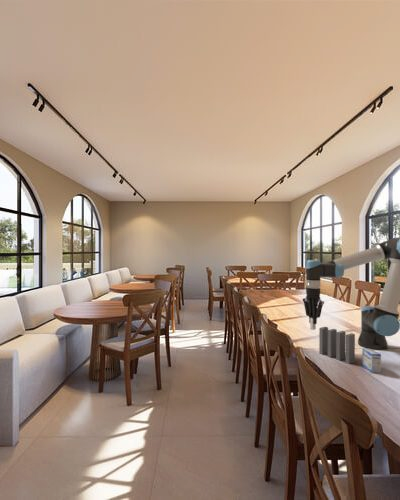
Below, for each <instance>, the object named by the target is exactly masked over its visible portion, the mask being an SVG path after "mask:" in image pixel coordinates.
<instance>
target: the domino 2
mask: <svg viewBox="0 0 400 500" xmlns="http://www.w3.org/2000/svg"><path fill="white" fill-rule="evenodd" d="M336 332H338V331H337V329H336V328H331V329H328V353H327V357H328V358H334V357H336Z"/></svg>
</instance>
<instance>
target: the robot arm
mask: <svg viewBox="0 0 400 500" xmlns="http://www.w3.org/2000/svg"><path fill="white" fill-rule="evenodd" d="M387 259H389V261H390V265H389V268H388V273H387V276H386V280H385V284H384V286H383V289H382V293H381V296H380V301H379V302H378V304H377V305H375V306H373V305H366V306H362V307H361V312H360V314H361V316H360V317H361V321H360V322H361V325H360V327H361V328H360V329H361V331H360V335H359V336H358V340H357V344H358V345H359V346H361V347H363V348H365V349H372V350H381V351H382V350H386V349H388V347H389V346H388V341H387V338H386V337H392V336H394V335H396V334H397V333H398V332H399V331H400V321H399V318H400V312H399V311H398V308H399V304H400V237H393V238H390V239H388V240H386V241H383V242H380V243H377V244H376V245H375V246H374V247H371V248H367V249H363V250H361V251H358V252H355V253H352V254H349V255H344V256H342V257H338V258H335V259H333V260H330V261H327V262H326V261H324V262H321V260H320V259H318V260H317V259H308V260H306V263H305V264H306V267H305V269H306V271H305V274H306V275H305V277H306V280H305V281H306V282H305V283H306V284H305V286H306V288H305V294H306V296H305V297H304V298H302V301H303V302H302V303H303V305H304V311H305V315H306V316H308V319H309V320H308V321H309V322H308V323H309V327H310V328H309V330H311V331H314V330H315V331H316V328H317V327H316V326H317V325H316V324H317V323H318V319H319V318H321V313H322V309H323V306H324V304H325V301H323V300H321V278H337V279H338V278H342V277H343V276H344V275H345V271H346V270H349V269H352V268H355V267H359V266H362V265H365V264H369V263H372V262H375V261H379V260H381V261H385V260H387Z"/></svg>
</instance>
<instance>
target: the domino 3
mask: <svg viewBox="0 0 400 500" xmlns="http://www.w3.org/2000/svg"><path fill="white" fill-rule="evenodd" d="M335 357H336V358H335V359H336V360H337V361H343V360H346V331H344V330H342V331H341V330H340V331H337V332H336V356H335Z"/></svg>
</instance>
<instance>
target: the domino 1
mask: <svg viewBox="0 0 400 500" xmlns="http://www.w3.org/2000/svg"><path fill="white" fill-rule="evenodd" d="M328 330H329V327H328V326H322V327H319V330H318V331H319V333H318V334H319V337H318V338H319V340H318V341H319V344H318V345H319V347H318V348H319V351H318V352H319V355H326V354H328Z"/></svg>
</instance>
